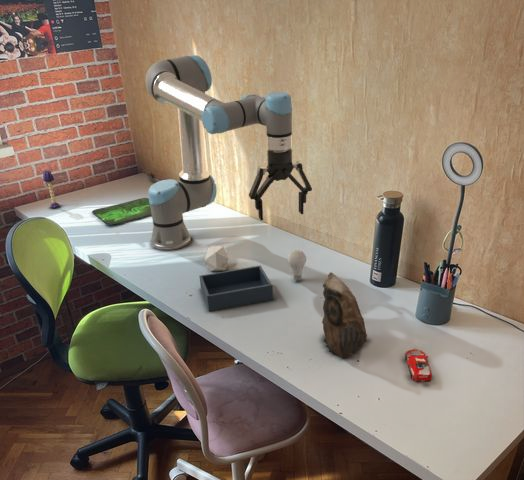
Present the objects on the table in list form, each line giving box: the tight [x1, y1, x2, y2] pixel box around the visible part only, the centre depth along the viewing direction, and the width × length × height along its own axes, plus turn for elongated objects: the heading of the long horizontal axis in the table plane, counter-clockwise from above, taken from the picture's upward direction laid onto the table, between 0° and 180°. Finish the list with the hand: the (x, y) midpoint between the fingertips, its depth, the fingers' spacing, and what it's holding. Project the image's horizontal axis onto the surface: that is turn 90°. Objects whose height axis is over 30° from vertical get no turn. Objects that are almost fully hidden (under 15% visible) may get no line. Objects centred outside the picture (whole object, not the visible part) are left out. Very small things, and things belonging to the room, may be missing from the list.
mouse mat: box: [91, 197, 152, 226], centre depth 252 cm, size 27×22×1 cm
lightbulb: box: [287, 249, 307, 282], centre depth 190 cm, size 6×6×11 cm
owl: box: [321, 271, 368, 359], centre depth 156 cm, size 13×13×20 cm
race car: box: [404, 348, 433, 384], centre depth 149 cm, size 13×5×4 cm, turn 177°
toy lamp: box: [42, 169, 61, 210], centre depth 257 cm, size 5×5×17 cm
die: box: [204, 246, 230, 272], centre depth 201 cm, size 8×9×10 cm
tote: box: [198, 265, 274, 312], centre depth 186 cm, size 15×21×6 cm
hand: (281, 215), depth 183 cm, fingers open, 13 cm apart
